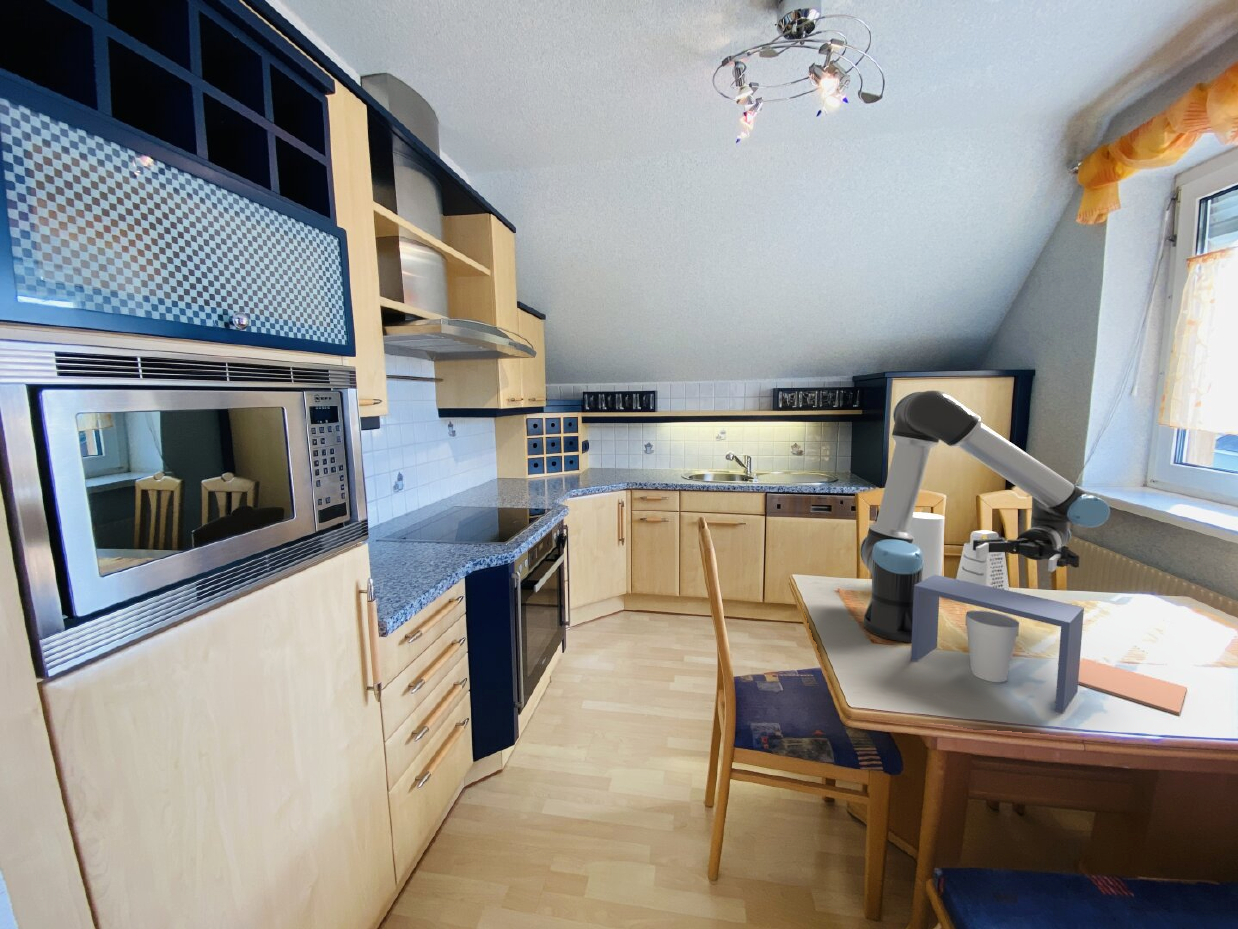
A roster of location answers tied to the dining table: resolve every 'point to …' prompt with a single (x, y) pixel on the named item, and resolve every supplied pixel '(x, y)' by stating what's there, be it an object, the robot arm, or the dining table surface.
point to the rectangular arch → (1003, 602)
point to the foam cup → (991, 643)
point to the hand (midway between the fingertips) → (1012, 559)
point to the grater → (983, 564)
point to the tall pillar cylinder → (929, 541)
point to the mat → (1132, 686)
